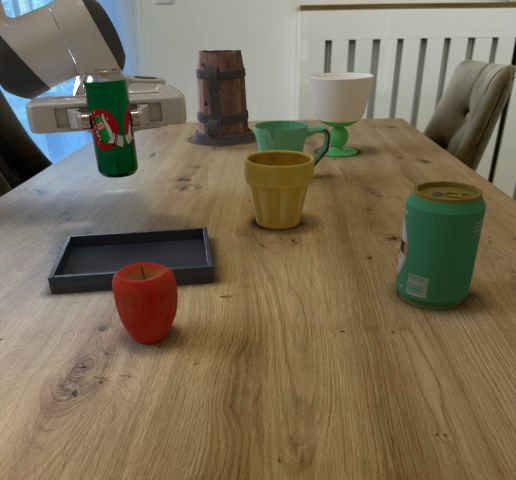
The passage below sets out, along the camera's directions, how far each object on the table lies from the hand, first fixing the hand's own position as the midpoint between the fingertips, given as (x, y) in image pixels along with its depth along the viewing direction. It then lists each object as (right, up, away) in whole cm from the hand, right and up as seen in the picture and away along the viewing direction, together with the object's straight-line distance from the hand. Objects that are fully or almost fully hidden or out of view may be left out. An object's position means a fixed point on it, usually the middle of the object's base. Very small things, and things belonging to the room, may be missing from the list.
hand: (111, 121), depth 67 cm
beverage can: (+37, -22, -4) cm, 43 cm away
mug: (+24, +5, +40) cm, 47 cm away
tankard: (+9, +24, +71) cm, 76 cm away
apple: (+7, -26, -11) cm, 29 cm away
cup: (+36, +17, +59) cm, 71 cm away
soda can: (0, -5, +4) cm, 7 cm away
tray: (+2, -17, +5) cm, 18 cm away
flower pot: (+21, -8, +18) cm, 29 cm away
